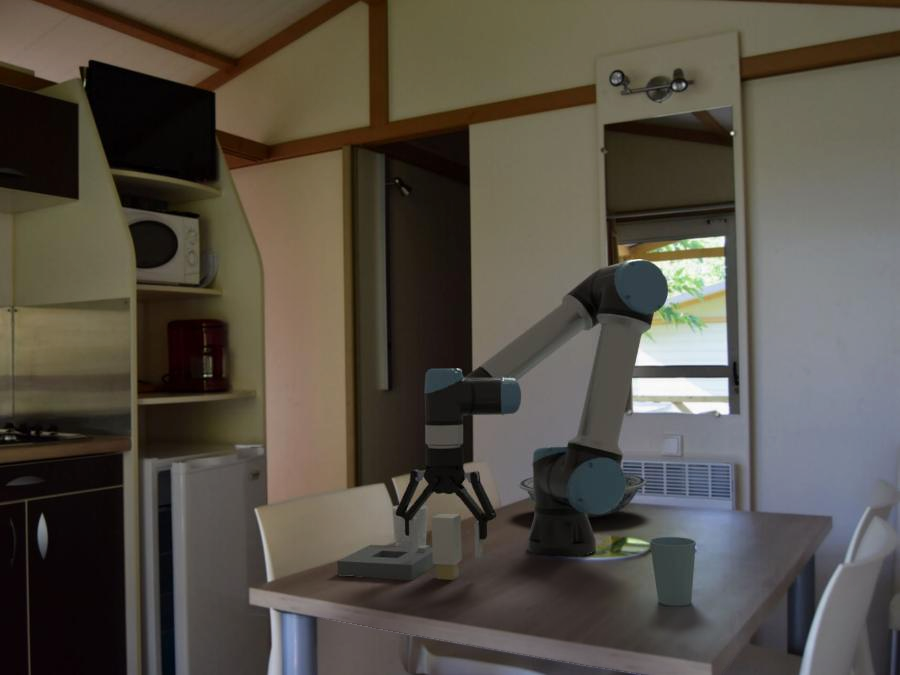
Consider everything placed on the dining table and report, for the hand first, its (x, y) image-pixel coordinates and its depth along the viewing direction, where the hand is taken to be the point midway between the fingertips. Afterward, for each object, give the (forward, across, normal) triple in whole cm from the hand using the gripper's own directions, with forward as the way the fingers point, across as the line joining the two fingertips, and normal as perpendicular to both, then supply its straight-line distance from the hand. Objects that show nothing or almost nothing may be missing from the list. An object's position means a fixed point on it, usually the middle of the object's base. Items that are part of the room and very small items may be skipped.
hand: (445, 554), depth 169 cm
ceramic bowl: (+4, -14, -73) cm, 75 cm away
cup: (+4, -44, +8) cm, 45 cm away
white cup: (+5, +16, -21) cm, 27 cm away
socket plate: (+5, +14, -4) cm, 15 cm away
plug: (+4, 0, 0) cm, 5 cm away
